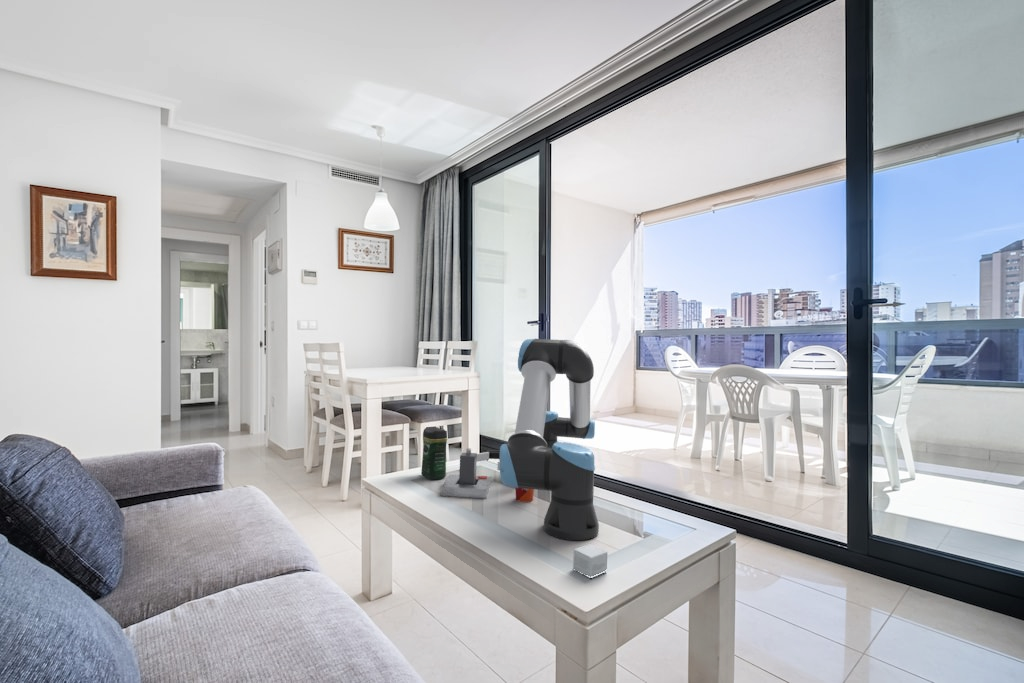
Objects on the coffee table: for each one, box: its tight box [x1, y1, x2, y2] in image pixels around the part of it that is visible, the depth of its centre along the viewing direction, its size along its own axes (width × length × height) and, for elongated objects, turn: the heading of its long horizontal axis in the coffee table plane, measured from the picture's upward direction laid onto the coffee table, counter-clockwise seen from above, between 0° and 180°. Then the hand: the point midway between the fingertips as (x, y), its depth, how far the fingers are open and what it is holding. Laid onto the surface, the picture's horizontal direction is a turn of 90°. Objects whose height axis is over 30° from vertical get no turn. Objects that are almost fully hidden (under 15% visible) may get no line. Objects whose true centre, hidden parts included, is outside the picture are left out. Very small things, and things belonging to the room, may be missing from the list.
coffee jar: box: [421, 426, 448, 481], centre depth 182 cm, size 10×8×19 cm
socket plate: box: [440, 474, 493, 499], centre depth 167 cm, size 15×15×3 cm
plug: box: [458, 447, 478, 485], centre depth 167 cm, size 5×5×14 cm
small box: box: [572, 543, 608, 577], centre depth 110 cm, size 6×6×5 cm
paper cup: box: [514, 487, 535, 503], centre depth 159 cm, size 8×8×14 cm
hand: (485, 462), depth 172 cm, fingers open, 13 cm apart
